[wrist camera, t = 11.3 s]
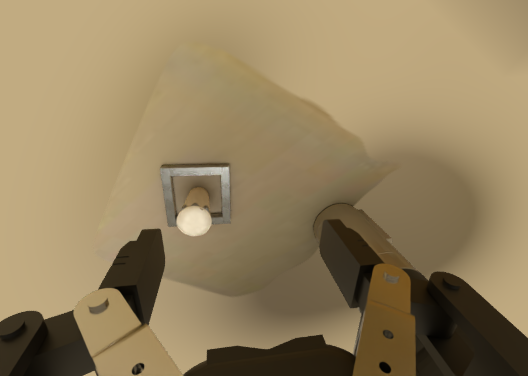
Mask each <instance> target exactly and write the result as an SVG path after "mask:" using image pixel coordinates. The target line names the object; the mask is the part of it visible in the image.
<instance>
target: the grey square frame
mask: <svg viewBox="0 0 528 376" xmlns="http://www.w3.org/2000/svg"><path fill="white" fill-rule="evenodd" d="M160 171H161V179H162V186H163V193H164V200H165V207H166V215H167V222H168V227H174V226H177V222H176V221H177V216H178V215H177V213H176V204H175V196H174V188H173V179H172V176H196V175H221V186H222V213H211V219H212V224H228V223H230V183H229V164H194V165H162V166H161V168H160Z"/></svg>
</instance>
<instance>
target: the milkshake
mask: <svg viewBox="0 0 528 376" xmlns="http://www.w3.org/2000/svg"><path fill="white" fill-rule="evenodd" d="M176 222H177V226H178V228H179V229H180V230H181V231H182V232H183V233H184V234H187V235H190V236H199V235H203V234H205V233H206V232H207V231H208V230H209V228H210V227H211V224H212V219H211V213H210V204H209V195H208V191H206V190H205V189H204V188H202V187H195V188H193V189H191V190H190V192H189V194H188V196H187V199H186V201H185V203H184V205H183V207H182V209H181V210H180V212H179V214H178V216H177V221H176Z"/></svg>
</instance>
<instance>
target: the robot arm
mask: <svg viewBox="0 0 528 376" xmlns="http://www.w3.org/2000/svg"><path fill="white" fill-rule="evenodd" d="M314 234H315V236H316V238H317V240H318V242H319V243H320V246H319V247H320V254H321V257H322V258H323V260H324V262H325V264H326V266H327V267H328V269H329V271H330V273H331V275H332V276H333V278H334V280H335V282H336V283H337V285H338V287H339V289H340V291H341V292H342V294H343V296H344V297H345V300H346V301H347V303H348V305H349V307H350V308H358V309H359V311H360V312H361V319H360V323H359V329H358V333H357V337H356V342H355V346H354V351H353V354H351V353H350V352H348V351H346V350H344V349H341V348H339V347H336V346H332V345H327V344H326V343H325V340H324V338H323V335H316V336H308V337H300V338H295V339H293V340H290V341H288V342H285V343H283V344H280V345H278V346H276V347H273V348H271V349H258V348H250V347H242V346H232V347H225V348H217V349H210V350H207V360H206V361H204V362H202V363H200V364H198V365H196V366H194V367H193V368H191V369H190V370H189V371H187V372H186V373H185V374H184V375H183V374H182V373H181V371H180V370H179V368H178V367H177V366H176V364H175V363H174V361H173V360H172V358H171V357H170V356H169V355H168V353H167V351H166V350H165V348H164V347H163V346H162V344H161V343H160V341H159V340H158V338H157V337H156V335H155V334H154V333H153V331H152V330H151V329H150V327H149V326H148V325H149V321H150V318H151V314H152V310H153V307H154V303H155V300H156V296H157V293H158V289H159V286H160V282H161V279H162V275H163V272H164V267H165V253H164V247H163V240H162V234H161V230H160V229H144V230H142V231H141V233H140V235H139V237H138V239H137V241H129V242H128V243H127V244H126V245H125V246H123V247H122V248H121V249H120V251H119V253H118V255H117V256H116V259H115V260H114V262H113V264H112V266H111V267H110V269H109V271H108V272H107V274H106V276H105V278H104V280H103V281H102V283H101V285H100V287H99V289H98V290H97V291H94V292H92V293H90V294H88V295H87V296H85V297H84V298H83V299H81V300H80V301H79V302H78V304H77V305H76V306H75V308H74V310H72V311H70V312H67V313H64V314H61V315H58V316H54V317H51V318H48V319H45V320H44V319H43V316H42V314H40V313H39V312H36V311H26V312H21V313H18V314H15V315H12V316H10V317H8V318H6V319H4V320H3V321H1V322H0V376H83V375H85V374H87V373H90V372H92V371H95V373H96V375H97V376H528V338H527V337H526V336H525V335H524V334H523V333H522V332H520V331H519V330H518V329H517V328H516V327H515V326H514V325H513V324H512V323H511V322H509V321H508V320H507V319H506V318H505V317H504V316H503V315H502V314H501V313H499V312H498V311H497V310H496V309H495V308H494V307H493V306H491V304H490V303H488V302H487V301H486V300H485V299H484V298H483V297H482V296H481V295H480V294H478V293H477V292H476V291H475V290H474V289H473V288H472V287H471V286H470V285H469V284H467V283H466V282H465V281H464V280H462V279H461V278H459V277H457V276H455V275H453V274H450V273H446V272H434V273H432V274H431V276H430V279H429V281H428V280H427V279H426V278H425V277H424V276H423V275H422V274H421V273H420V272H419V271H418V270H417V269H416V268H415V267H414V266H413V265H412V264H411V263H410V262H409V261H408V260H407V259H406V258H405V257H404V256H402V254H401V253H399V252H398V250H396V248H395V247H394V246H392V238H391V237H390V236H389V235H388V234H387V233H385V232H384V231H383V229H382V228H380V227H379V226H378V225H377V224H376V223H375V222H374V221H373V220H372V219H371V218H370V217H369V216H368V215H367V214H366V213H365V212H364V211H363V210H357V209H355V208H354V207H353V206H351V205H349V204H335V205H332V206H330V207H328V208H326V209H325V210H323V211H322V212H321V213H320V214H319V216H318V217H317V219H316V221H315V224H314Z"/></svg>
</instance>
